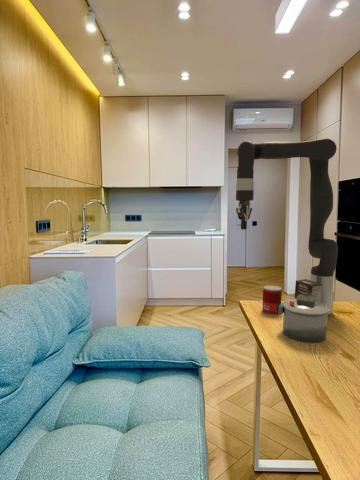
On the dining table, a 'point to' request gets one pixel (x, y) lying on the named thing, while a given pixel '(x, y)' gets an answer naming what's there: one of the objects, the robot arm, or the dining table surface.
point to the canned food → (271, 299)
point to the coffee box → (308, 290)
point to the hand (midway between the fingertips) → (243, 229)
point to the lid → (306, 306)
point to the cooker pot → (304, 326)
